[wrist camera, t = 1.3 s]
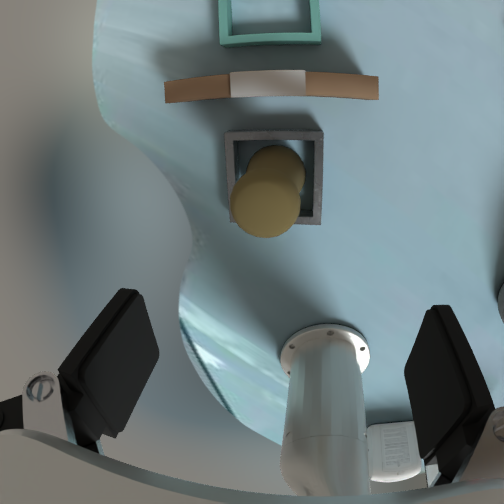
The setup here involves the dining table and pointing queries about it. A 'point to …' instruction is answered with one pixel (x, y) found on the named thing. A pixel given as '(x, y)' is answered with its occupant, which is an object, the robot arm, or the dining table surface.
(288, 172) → the cork
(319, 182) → the collar
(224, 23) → the collar
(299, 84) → the door edge
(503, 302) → the smart speaker
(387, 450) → the photo printer
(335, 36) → the dining table surface
